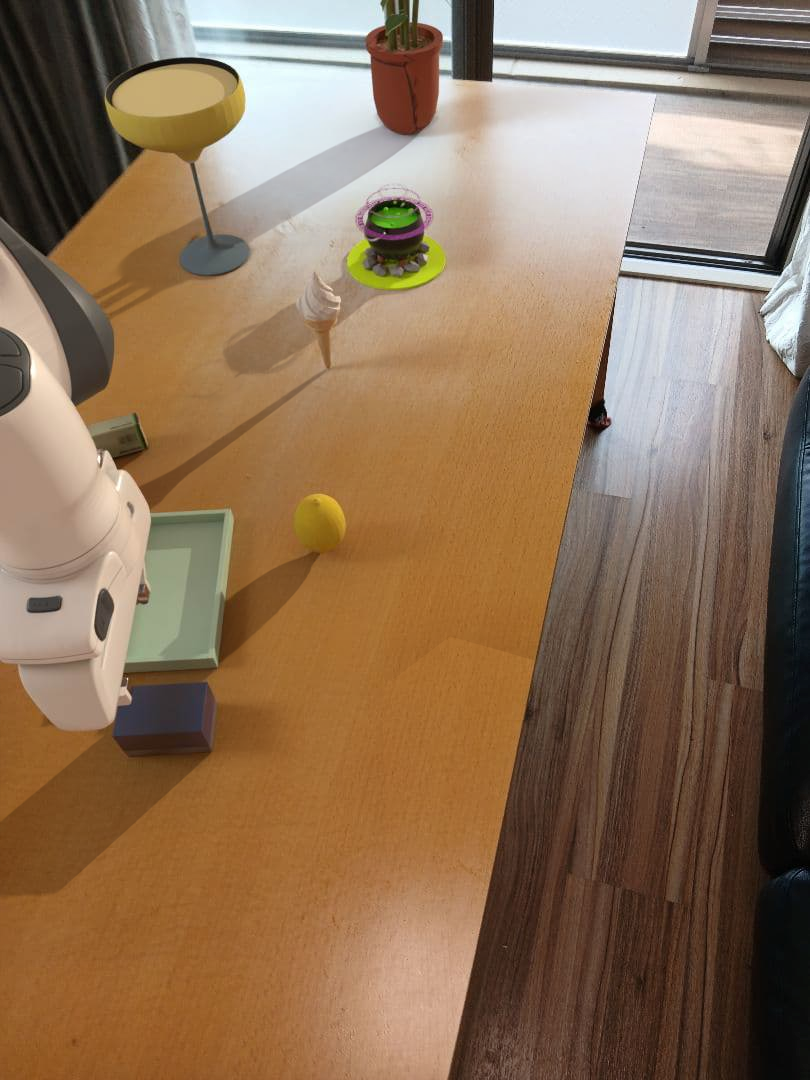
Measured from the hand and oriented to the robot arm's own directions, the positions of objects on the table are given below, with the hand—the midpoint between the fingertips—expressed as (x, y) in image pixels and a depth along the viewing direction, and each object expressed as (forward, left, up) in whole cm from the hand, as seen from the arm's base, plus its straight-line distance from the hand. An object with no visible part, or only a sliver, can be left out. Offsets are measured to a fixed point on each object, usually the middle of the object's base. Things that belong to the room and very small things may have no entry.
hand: (132, 645), depth 67 cm
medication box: (-14, +36, -14) cm, 41 cm away
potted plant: (+29, +114, -14) cm, 118 cm away
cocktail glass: (-4, +78, -14) cm, 80 cm away
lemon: (+14, +20, -14) cm, 28 cm away
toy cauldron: (+24, +74, -14) cm, 79 cm away
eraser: (0, -1, -14) cm, 14 cm away
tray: (-2, +15, -14) cm, 21 cm away
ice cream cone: (+14, +50, -14) cm, 54 cm away
